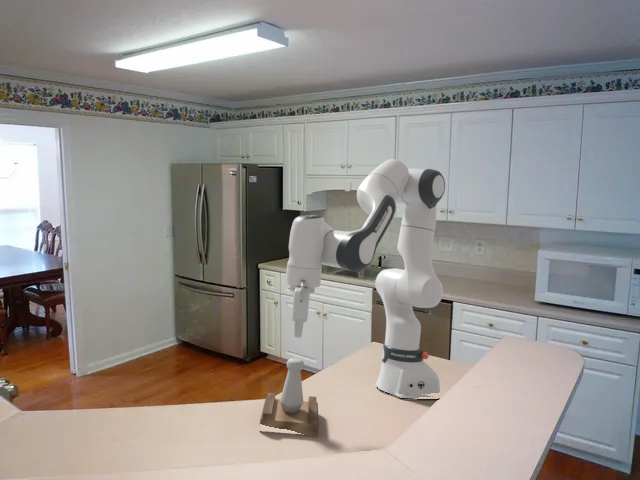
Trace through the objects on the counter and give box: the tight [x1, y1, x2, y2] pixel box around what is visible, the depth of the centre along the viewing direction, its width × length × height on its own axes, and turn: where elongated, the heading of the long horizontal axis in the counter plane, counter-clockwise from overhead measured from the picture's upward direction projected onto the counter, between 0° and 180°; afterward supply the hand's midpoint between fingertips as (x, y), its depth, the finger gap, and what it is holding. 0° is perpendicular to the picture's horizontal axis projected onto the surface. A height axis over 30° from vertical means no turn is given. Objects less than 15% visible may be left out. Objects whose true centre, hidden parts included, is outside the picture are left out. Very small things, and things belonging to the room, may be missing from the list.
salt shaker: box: [280, 357, 305, 414], centre depth 118 cm, size 6×6×13 cm
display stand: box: [259, 392, 320, 438], centre depth 118 cm, size 14×14×4 cm
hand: (298, 332), depth 118 cm, fingers open, 8 cm apart
